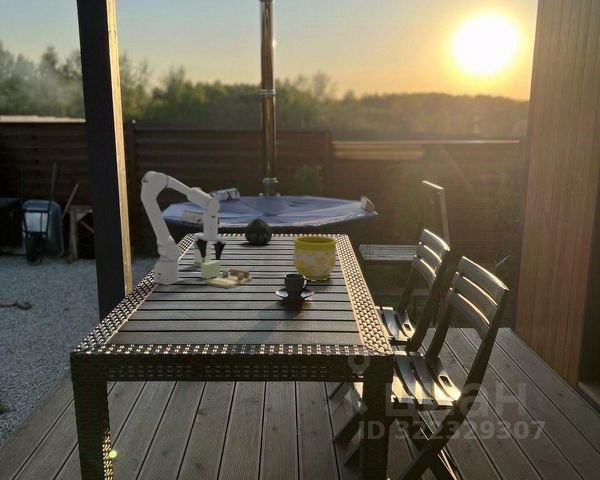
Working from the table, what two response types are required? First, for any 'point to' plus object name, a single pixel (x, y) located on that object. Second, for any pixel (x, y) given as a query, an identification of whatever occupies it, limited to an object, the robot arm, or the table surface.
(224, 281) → the board
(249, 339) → the table surface
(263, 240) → the squash
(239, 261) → the table surface
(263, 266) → the table surface
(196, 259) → the printed cardboard box
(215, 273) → the block
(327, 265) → the flowerpot
